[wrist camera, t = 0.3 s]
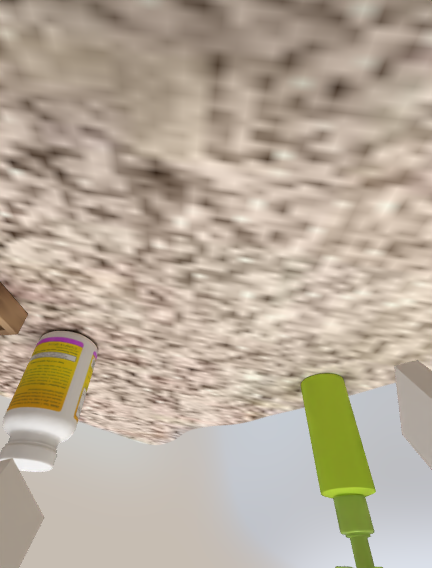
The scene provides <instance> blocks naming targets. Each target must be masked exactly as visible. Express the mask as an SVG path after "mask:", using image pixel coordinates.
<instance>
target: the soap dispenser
mask: <svg viewBox="0 0 432 568" xmlns="http://www.w3.org/2000/svg"><path fill="white" fill-rule="evenodd" d="M301 390H302V395H303V401H304V406H305V411H306V417H307V422H308V427H309V433H310V437H311V443H312V449H313V454H314V459H315V465H316V470H317V476H318V481H319V486H320V492H321V495H322V496H325V497H329V498H333V499H334V504H335V509H336V514H337V519H338V523H339V528H340V532H341V534H344V535H346V537H347V538H350V540H351V545H352V549H353V554H354V558H355V562H356V567H357V568H383V567H374V563H373V559H372V555H371V551H370V547H369V543H368V539H367V538H368V537H370V534H373V533H374V529H373V525H372V521H371V517H370V514H369V510H368V506H367V502H366V499H365V497H366V496H369V495H371V494H373V493H375V492H376V490H375V487H374V483H373V480H372V477H371V473H370V469H369V466H368V463H367V459H366V456H365V452H364V449H363V445H362V442H361V438H360V435H359V432H358V428H357V425H356V421H355V418H354V414H353V411H352V407H351V404H350V401H349V397H348V393H347V390H346V387H345V383H344V380H343V378H342V377H341V376H339V375H336V374H329V373H325V374H317V375H313V376H310V377H308V378H306V379H304V380H303V381H302V383H301ZM335 568H352V567H341V566H340V567H338V566H337V567H335Z"/></svg>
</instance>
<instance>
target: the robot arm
mask: <svg viewBox="0 0 432 568" xmlns="http://www.w3.org/2000/svg"><path fill="white" fill-rule="evenodd" d="M394 368H395V377H396V385H397V394H398V403H399V412H400V420H401V428H402V435H403V436H404V437H405V438H406V439H407V441H408V442H409V443H410V444H411V445H412V447H413V448H414V449H415V450H416V451H417V453H418V454H419V455H420V456H421V458H422V459H423V460H424V461H425V462H426V463H427V465H428V466H429V467H430V468H431V470H432V371H431V370H430V369H429V368H427V367H426V366H425V365H423V364H422V363H421V362H419V361H418V360H416V361H412V362H408V363H403V364H399V365H395V366H394ZM43 519H44V516H43V514H42V512H41V510H40V508H39V506H38V505H37V503H36V501H35V499H34V498H33V495H32V494H31V492H30V490H29V488H28V486H27V484H26V482H25V480H24V478H23V477H22V475H21V473H20V471H19V469H18V467H17V465H16V463H15V462H14V460H13V458H10V459H6V460H2V461H0V568H19V567H20V565H21V563H22V561H23V559H24V557H25V555H26V553H27V551H28V549H29V547H30V545H31V543H32V541H33V539H34V537H35V535H36V533H37V531H38V529H39V527H40V525H41V523H42V521H43Z"/></svg>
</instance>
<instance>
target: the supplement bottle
mask: <svg viewBox="0 0 432 568" xmlns="http://www.w3.org/2000/svg"><path fill="white" fill-rule="evenodd" d="M97 354H98V350H97V347H96V345H95V344H94V343H93V342H92V341H91V340H90V339H88V338H87V337H85V336H83V335H81V334H78V333H74V332H70V331H53V332H49V333H47V334H45V335H43V336H42V337H41V338H40V340H39V341H38V344H37V346H36V348H35V350H34V352H33V354H32V357H31V359H30V361H29V363H28V365H27V368H26V370H25V372H24V374H23V376H22V379H21V381H20V383H19V385H18V387H17V390H16V392H15V394H14V396H13V398H12V401H11V403H10V405H9V408H8V409H7V412H6V414H5V416H4V419H3V428H4V430H5V432H6V433H7V434H8V435H10V438H9V441H8V443H7V444H6V445H5V447H3V448H2V450H1V453H0V461H2V460H6V459H10V458H13V460H14V462H15V463H16V465H17V467H18V469H19V470H21V471H30V472H42V471H48V470H51V469H52V468H53V465H54V462H55V460H56V457H57V454H56V453H57V450H56V448H57V446H58V443H60V442H63V441H66V440H67V439H69V438H70V437H71V436H72V434H73V433H74V431H75V429H76V426H77V423H78V419H79V416H80V412H81V409H82V406H83V402H84V399H85V395H86V392H87V389H88V385H89V382H90V379H91V376H92V372H93V369H94V365H95V362H96V358H97Z"/></svg>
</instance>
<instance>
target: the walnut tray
mask: <svg viewBox="0 0 432 568" xmlns="http://www.w3.org/2000/svg"><path fill="white" fill-rule="evenodd" d="M27 315H28V314H27V313H26V312H25V310H24V309H23V308H22V307H21V306H20V305H19V303H18V302H17V301H16V300H15V299H14V298H13V296H12V295H11V294H10V293H9V292H8V291H7V289H6V288H5V287H4V286H3V285H2V284H1V282H0V335H14V334H18V333H19V331H20V329H21V327H22V325H23V323H24V321H25V319H26V317H27Z"/></svg>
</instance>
